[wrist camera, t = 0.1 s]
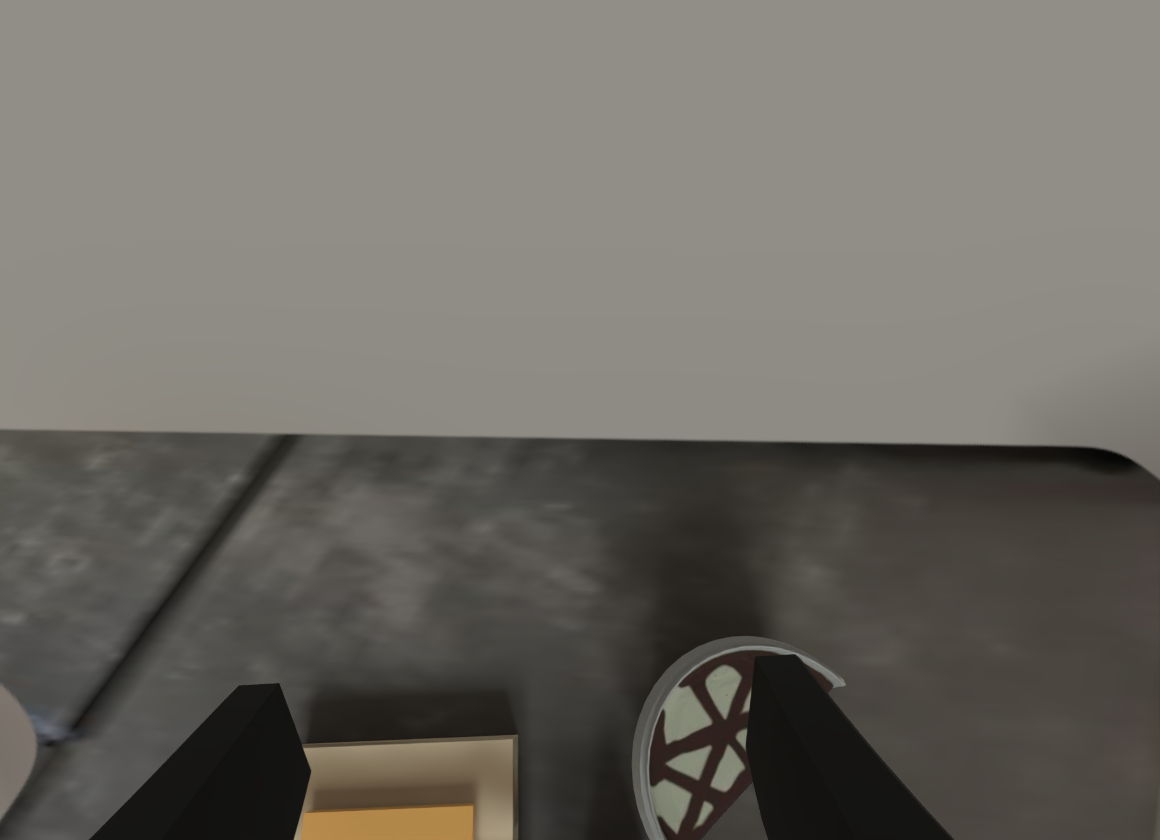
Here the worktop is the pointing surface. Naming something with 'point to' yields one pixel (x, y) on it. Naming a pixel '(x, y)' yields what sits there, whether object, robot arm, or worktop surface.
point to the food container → (701, 735)
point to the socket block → (419, 778)
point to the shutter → (392, 823)
